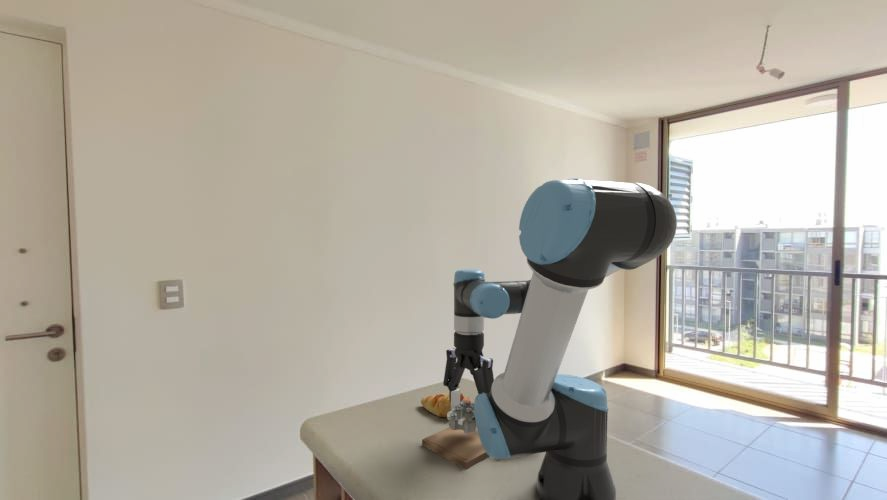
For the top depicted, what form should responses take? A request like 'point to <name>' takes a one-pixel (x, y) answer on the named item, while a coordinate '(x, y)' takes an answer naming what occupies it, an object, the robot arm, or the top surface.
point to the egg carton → (462, 417)
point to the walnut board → (457, 446)
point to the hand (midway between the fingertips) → (468, 420)
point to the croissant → (440, 404)
